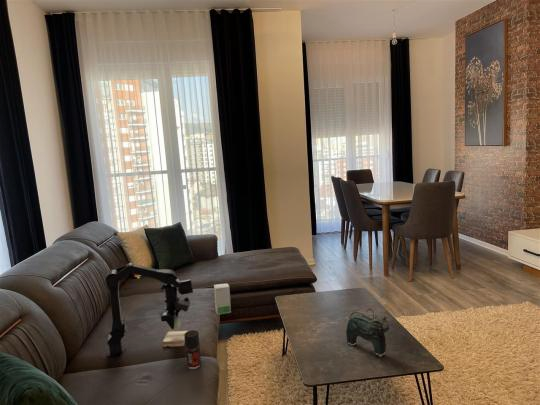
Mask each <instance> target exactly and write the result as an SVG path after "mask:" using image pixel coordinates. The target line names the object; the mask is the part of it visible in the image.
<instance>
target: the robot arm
mask: <svg viewBox="0 0 540 405" xmlns="http://www.w3.org/2000/svg"><path fill="white" fill-rule="evenodd" d="M131 274H132V275H136V276H142V277H144V278H145V277H146V278H150V279H154V280H157V281H159V282H160V283H161V285H160V286H159V287H160V290H161V291H164V299H163V301H164V303H165V307H164V310H165V312H163V314H162V315H161V316H160V321H161V322H166V324H167V323H168V325H169V326H170V327H171V329H174V322H175V319H176V317H177V316H179V314H180V312H181V311H183V312H188V310H189V309H190V304H191V301H190V298H189V297H187V296H186V297H185V298H183V299H181V298H180V296H179V295H178V294H180V295H182V296H184V295H189V294H193V293H194V289H193V288H194V287H193V285H192V279H191V278H187V279H185V280H180V279H179V278H178V277H177V275H176V273H175V271H174V270H173V269H169V268H167V269H165V268H163V269H161V268H160V269H158V268H157V269H156V268H152V267H148V266H143V265H139V264H135V263H132V262H129V263H126V264H125V265H123V266H119V267H117V268H116V269H110V270H108V271H107V273H106V276H105V284H106V287H107V290H108V292H109V298H110V306H111V307H110V310H111V316H112V318H111V319H112V324H111V330H110V331H109V333H108V335H107V341H106V343H107V345H108V350H109V352H108V353H107V354H106V357H107V358H108V357H109V358H111V357H121V356H122V355H123V353H124V352H125V351H126V347H123V342H122V339H123V338H124V337H125V334H126V333H127V327H128V326H127V324H126V318H124V319H123V318H122V310H121V300H120V299H121V298H120V292H119V290H120V288H119V287H120V281H122V280H123V279H125V278H126V277H127V276H129V275H131ZM168 325H167V326H168Z"/></svg>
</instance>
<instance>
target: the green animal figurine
mask: <svg viewBox="0 0 540 405" xmlns="http://www.w3.org/2000/svg"><path fill="white" fill-rule="evenodd" d="M368 311H371V312H372V314H373V316H372V318H371V317H370V316H367V315H365V314H363V313H362V312H359V311H357V312H356V311H355V312H354V311H353V312H352V313H351V314H350V316H349V320H347V324H346V330H345V334H346V341H347V343H348V342H349V343H351V344H354V343H356V344H357V339H358V337H360V338H362V339H364V340H366V341H369V342H371V345H372V346H373V348H374V353H375V352H376V353H378V354H383V353H384V352H385V351H386V350H387V349H386V347H387V344H386V335H385V333H387V332H388V331H389V330H390V322H389V321H388V320H387V317H386V316H384V317H378V315H377V314H375V312H374V311H373V309H372V308H368V309H367V310H366V312H368ZM354 314H355V315H354ZM353 315H354V316H353Z"/></svg>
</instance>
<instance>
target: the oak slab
mask: <svg viewBox="0 0 540 405" xmlns="http://www.w3.org/2000/svg"><path fill="white" fill-rule="evenodd" d="M188 331H189V330H178V331H168V332H166V335H165V337H164V339H163V341H162V347H163V346H164V347H165V348H166V346H170V347H184V346H185V337H184V334H185V333H186V332H188ZM164 347H163V348H164Z"/></svg>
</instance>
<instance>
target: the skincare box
mask: <svg viewBox="0 0 540 405" xmlns="http://www.w3.org/2000/svg"><path fill="white" fill-rule="evenodd" d="M213 288H214V290H213V291H214V306H215V309H214V310H215V314H216V315H217V316H218V315H224V314H231V313H232V311H231V310H232V309H231V308H232V307H231V292H230V290H231V289H230V285H229V284H228V283H219V284H213Z"/></svg>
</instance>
